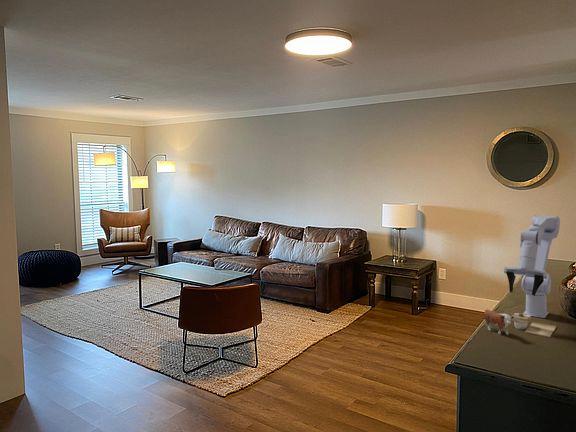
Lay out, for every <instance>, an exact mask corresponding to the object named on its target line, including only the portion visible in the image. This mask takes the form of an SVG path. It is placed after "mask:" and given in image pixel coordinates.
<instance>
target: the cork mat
mask: <svg viewBox="0 0 576 432" xmlns="http://www.w3.org/2000/svg"><path fill="white" fill-rule="evenodd" d="M557 327H558V326H557V325H552V324H546V323H541V322H535V321H534V322H531V324H529V326H527V329H525V330H524V334H527V335H528V334H529V335H533V336H539V337H544V338H549V339H550V338H551V337H552V335H553V333H554V332H555V330H556V329H557Z"/></svg>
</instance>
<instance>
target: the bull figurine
mask: <svg viewBox="0 0 576 432" xmlns="http://www.w3.org/2000/svg"><path fill="white" fill-rule="evenodd" d="M483 317H484V318H483V319H484V320H483V321H484V325H485V326H486V327H487V330H488V331H489V332H492V329H493V326H492V325H494V327H496V326H498V331H497V334H498V335H499V336H500V335H502V329H504V330H505V334H506V336H510V334H509V333H510V332H509V331H508V327H509V325H511V324H512V320H511V318H514V316H512V315H510V314H507V313H499V312H495V311H493V310H491V309H485V311H484V312H483Z"/></svg>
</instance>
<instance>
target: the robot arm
mask: <svg viewBox="0 0 576 432" xmlns="http://www.w3.org/2000/svg"><path fill="white" fill-rule="evenodd" d="M531 218H532V219H531V225H530V226H529V227H528V228H527V229H526V230H524V231H522V232H521V233H520V242H519V246H520V252H519V256H518V263H517V267H515V266H514V267H513V266H512V267H510V266H509V267H505V266H504V270H503V273H504V274H505V275H506V277H507V281H508V286H509V287H508V288H509V290H508V291H509V292H510V293H514V292H513V290H514V284H515V280H516V275H519V276H523V277H522V278H521V289H522V290H523V291H524V294H525V310H524V312H523V313H522V314H524V315H531V317H535V318H543V319H545V318H546V317H547V315H548V314H549V313H550V311H547V295H548V294H550V292H551V290H552V277H551V275H550V274H549V273H548V272H547V271H546V269H547V263H548V258H549V255H550V250H551V249H550V248H551V245H552V242H553V240H554V239H556V238H558V235H559V232H560V225H561V220H560V217H559V216H558V215H553V216H552V215H536V214H534V216H532V217H531Z"/></svg>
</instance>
